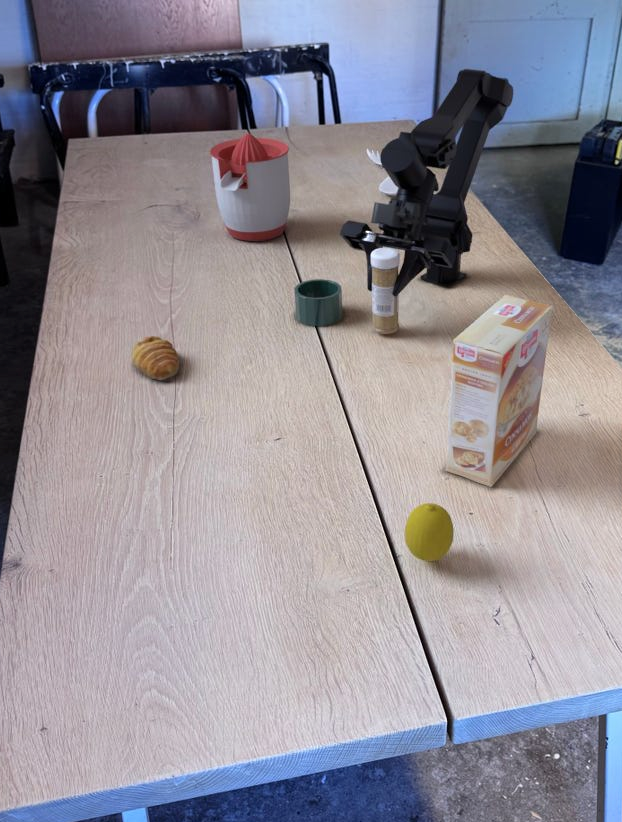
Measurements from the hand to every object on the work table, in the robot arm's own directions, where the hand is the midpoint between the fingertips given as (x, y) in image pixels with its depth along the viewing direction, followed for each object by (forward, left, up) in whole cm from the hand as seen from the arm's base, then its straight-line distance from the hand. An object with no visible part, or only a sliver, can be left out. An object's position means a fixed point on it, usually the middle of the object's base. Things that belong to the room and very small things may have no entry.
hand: (381, 292), depth 141 cm
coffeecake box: (+17, +33, -8) cm, 38 cm away
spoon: (-63, -47, -8) cm, 80 cm away
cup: (+1, -13, -8) cm, 15 cm away
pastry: (+30, -21, -8) cm, 38 cm away
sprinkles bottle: (-1, 0, -7) cm, 7 cm away
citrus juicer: (-19, -49, -8) cm, 53 cm away
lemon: (+40, +39, -8) cm, 56 cm away
